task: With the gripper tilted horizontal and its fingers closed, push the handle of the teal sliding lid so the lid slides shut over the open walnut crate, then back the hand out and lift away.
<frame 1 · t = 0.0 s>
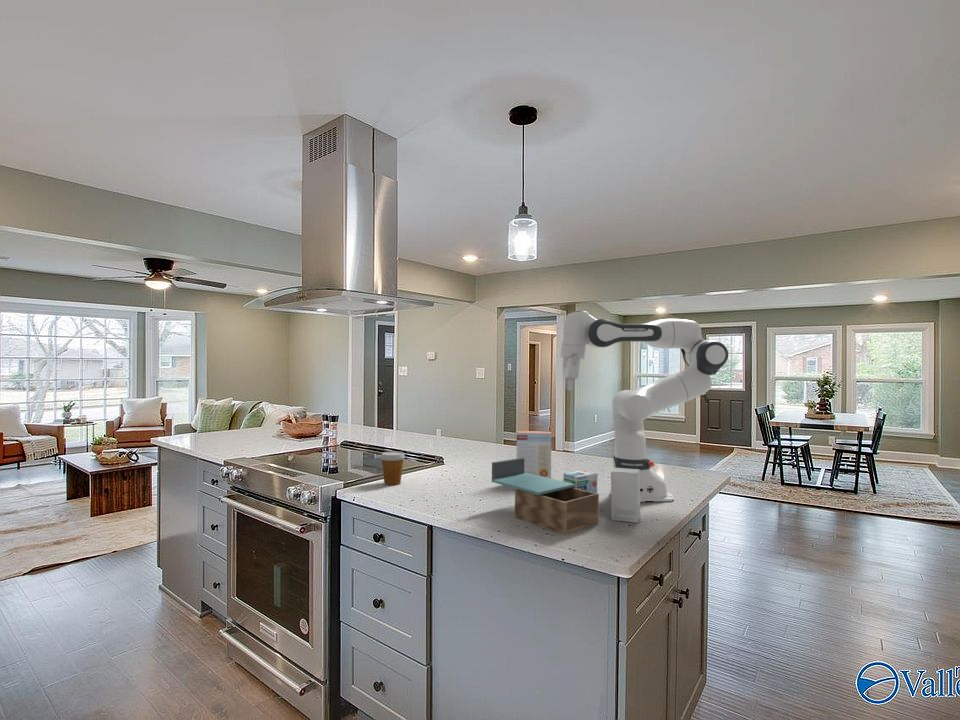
hand: (568, 389, 190), 39 cm above the worktop, tool pointing down, fingers open, 8 cm apart
light bulb box: (580, 504, 176), on the worktop
disposable coffee cup: (392, 484, 200), on the worktop
cracker box: (533, 483, 205), on the worktop
lid: (531, 474, 164), point 12 cm above the worktop, slide at 10.0 cm
crate: (555, 520, 156), on the worktop
skincare box: (625, 519, 159), on the worktop
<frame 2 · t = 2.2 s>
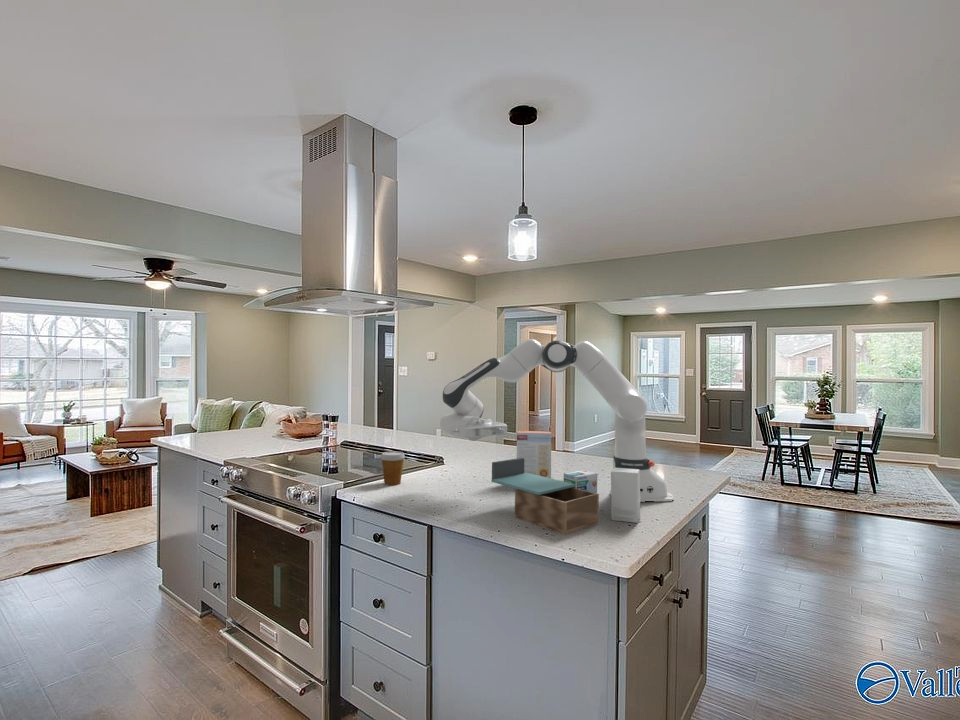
hand: (497, 432, 177), 24 cm above the worktop, tool horizontal, fingers open, 5 cm apart
nothing on the worktop moved.
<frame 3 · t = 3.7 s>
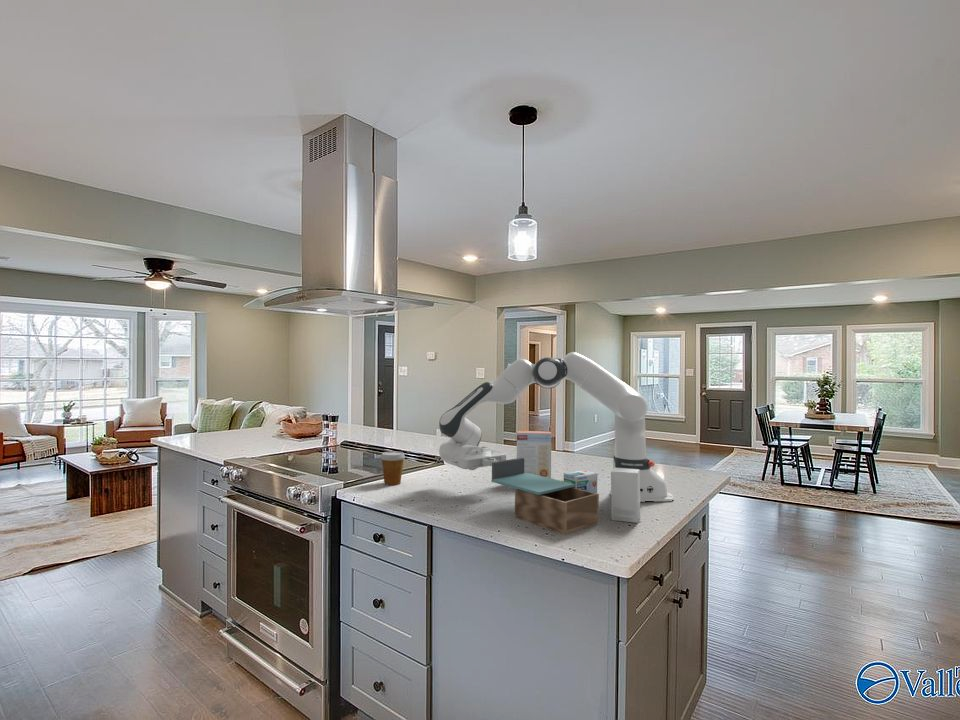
hand: (496, 463, 177), 13 cm above the worktop, tool horizontal, fingers closed
nothing on the worktop moved.
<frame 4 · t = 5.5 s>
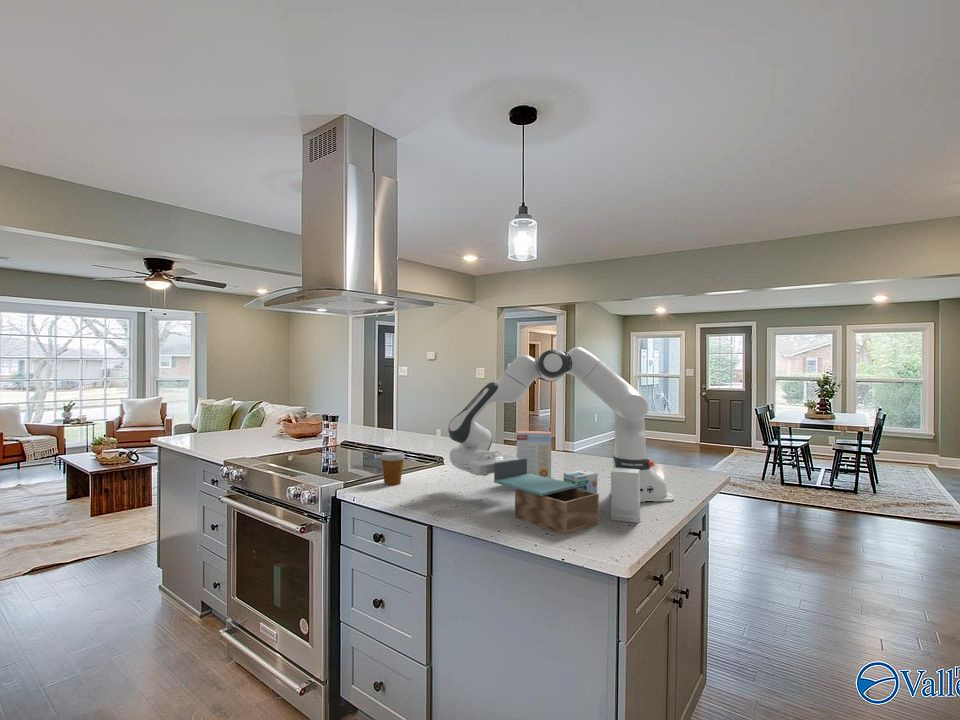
hand: (509, 469, 172), 12 cm above the worktop, tool horizontal, fingers closed, pressing on lid
lid: (533, 475, 163), point 12 cm above the worktop, slide at 8.8 cm, touching gripper
everything else where it was.
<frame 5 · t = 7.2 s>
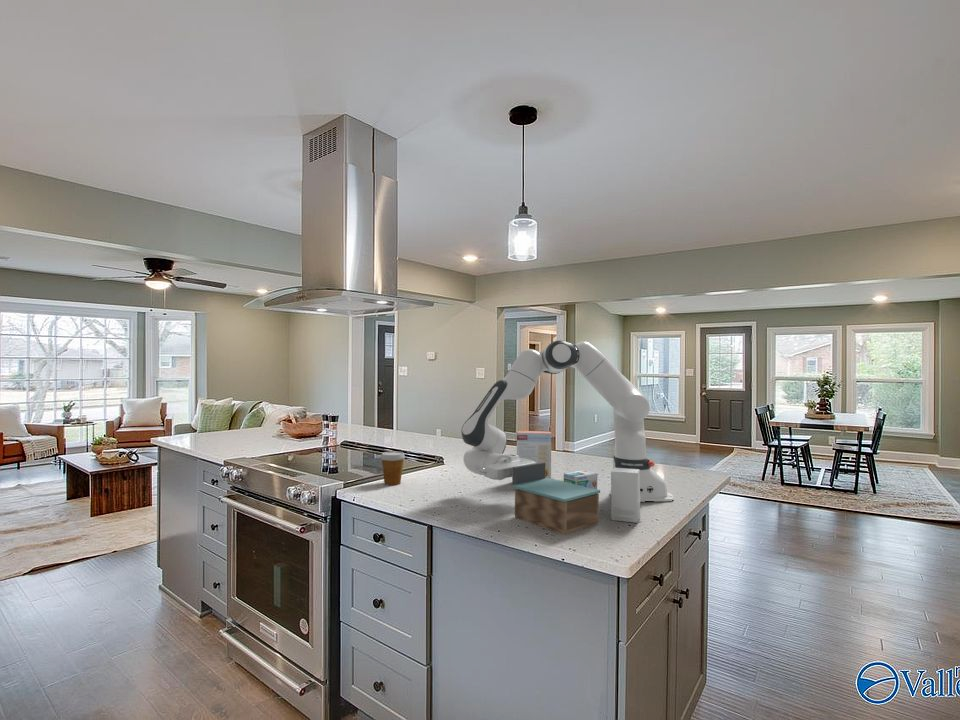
hand: (527, 473, 166), 12 cm above the worktop, tool horizontal, fingers closed, pressing on lid
lid: (553, 480, 157), point 12 cm above the worktop, slide at 0.3 cm, touching gripper
everything else where it was.
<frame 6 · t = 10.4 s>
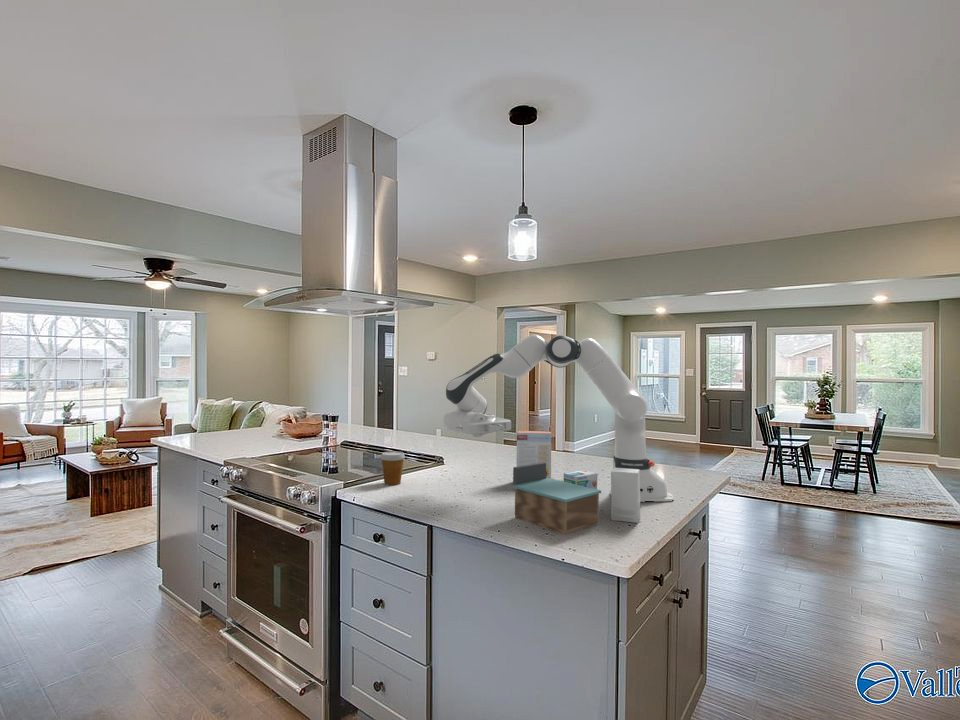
hand: (501, 428, 175), 26 cm above the worktop, tool horizontal, fingers closed
lid: (554, 480, 157), point 12 cm above the worktop, slide at 0.0 cm
everything else where it was.
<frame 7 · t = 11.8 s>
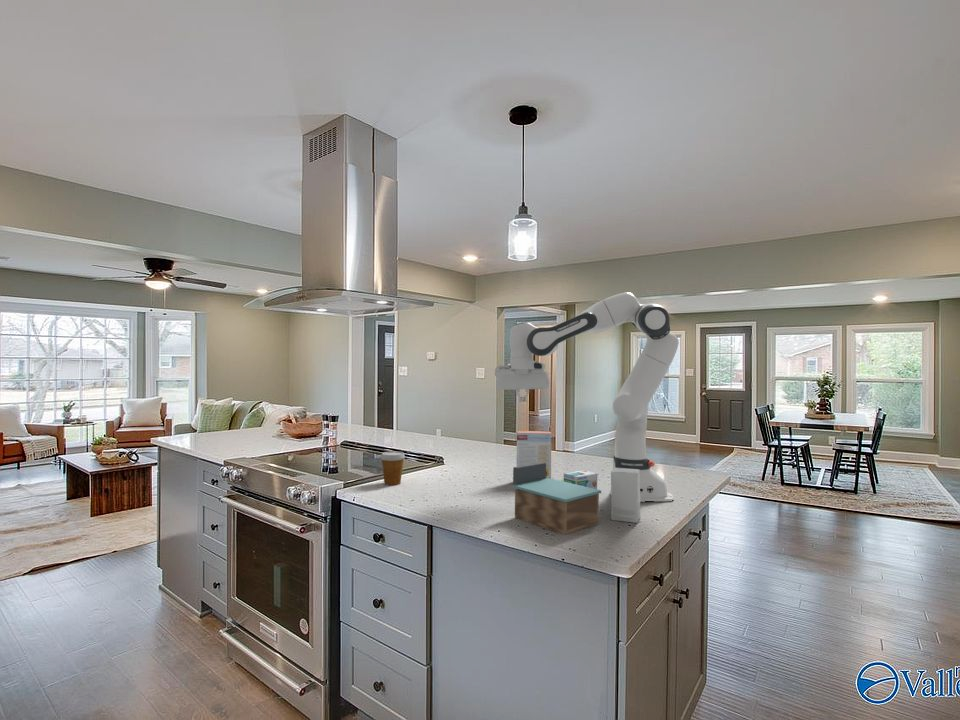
hand: (522, 401, 193), 34 cm above the worktop, tool pointing down, fingers closed
nothing on the worktop moved.
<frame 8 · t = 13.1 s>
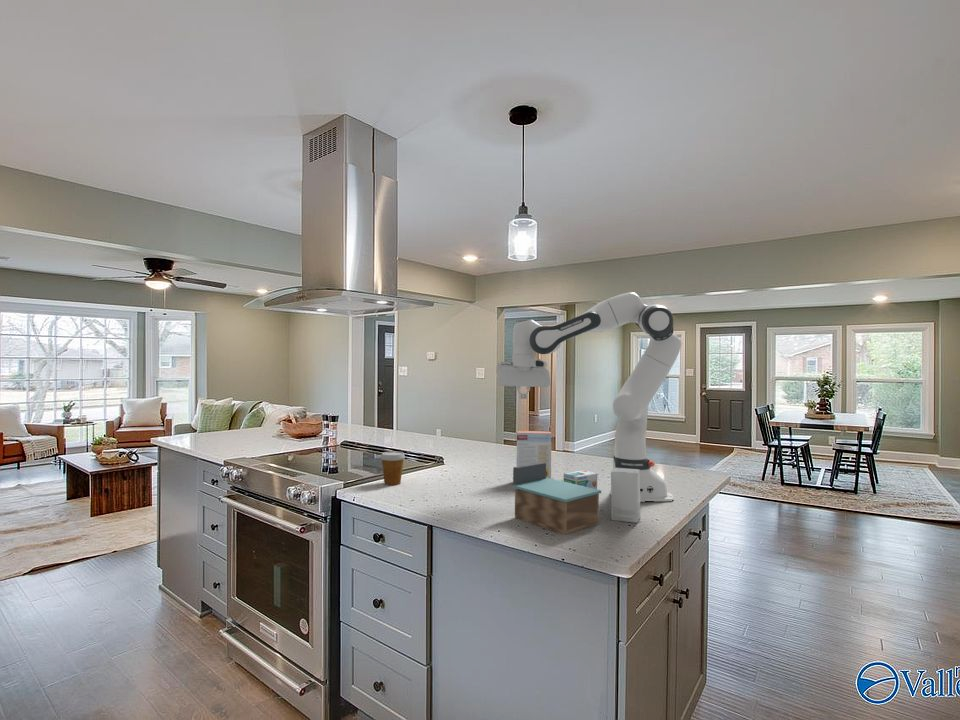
hand: (523, 398, 193), 35 cm above the worktop, tool pointing down, fingers closed
nothing on the worktop moved.
at the end: lid slide at 0.0 cm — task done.
